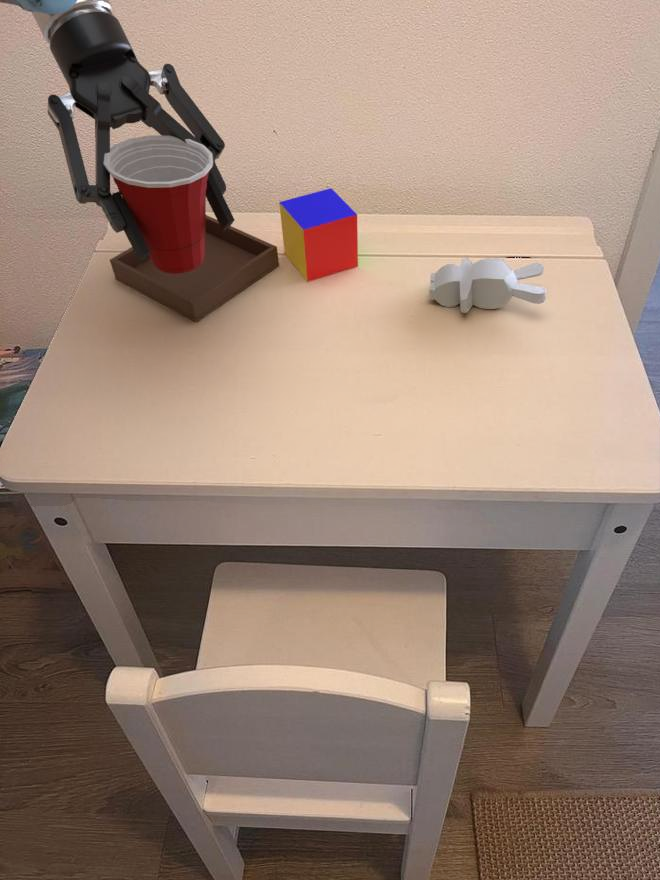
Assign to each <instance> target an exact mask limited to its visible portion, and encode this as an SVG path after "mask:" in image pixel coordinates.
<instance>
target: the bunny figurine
mask: <svg viewBox="0 0 660 880" xmlns="http://www.w3.org/2000/svg"><path fill="white" fill-rule="evenodd" d="M544 269H545V266H543V264H542V263H539V262H535V263H531V264H528V265H525V266H522V267H519V268H517V269H515V270H512V269H511V268H510V266H509V265H508V264H507V262H506V260H505V259H504V258H497V257H490V258H489V257H488V258H484V259H483V258H482V259H479V260H477V261H475V262H474V263H473V262H472V261H471V260H470V258H469V257H465V258H462V259H461V261H460V264H459V265H458V264H455V263H447V264H445V265H443V266H442V267H440V268H439V269H438V270H436V272H430V278H429V279H430V283H429V300H431V301H436V302H437V303H438V304H439V305H441V306H442V307H446V308H454V307H456V306H457V305H459V307H460V308H459V309H460V313H465V314H468V312H469V311H470V310H471V309H472V307H473V306H475V307H477V308H479V309H484V310H495V309H496V310H497V309H501V308H504V307H505V306H506V304H507V303H508V302H509V301H510V300H511V299H512V298H516V299H520V300H523V301H525V302H528V303H531V304H536V305H540V304H543V303H545V301H546V299H547V297H546V296H547V290H546V288H545V287H543V286H539V285H532V284H526V283H520V281H521V280H526V279H530V278H535V277H540V276H542V275H543V274H544Z"/></svg>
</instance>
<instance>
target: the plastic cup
mask: <svg viewBox="0 0 660 880" xmlns="http://www.w3.org/2000/svg"><path fill="white" fill-rule="evenodd" d="M185 141H186V143H187V144H186V143H185V142H184V141H182V140H180V139H179V138H176V137H173V136H170V135H160V134H159V135H157V134H155V135H154V134H152V135H143V136H138V137H132V138H131V137H130V138H127V139H126V140H123V141H120V142H118V143H117V144H114V145H112V146H111V147H110V152H109V153H106V154H105V155H104V163H103V164H104V166H105V168H106V169H107V170H108V172H109V173H110V176H111V177H112V179H113V182H114V183H115V185H116V188H117V189H118V192H120V193H121V195H122V197H123V199H124V201H125V203H126V205H127V207H128V209H129V211H130V213H131V215H132V217H133V219H134V221H135V223H136V225H137V227H138V229H139V230H140V232H141V234H142V236H143V238H144V240H145V242H146V244H147V246H148V248H149V250H150V254H149V256H150V259H151V260H152V262H153V263H154V265H155V266H156V267H157V269H159V270H161V271H163V272H165V273H172V274H177V273H185V272H188V271H191V270H194V269H196V268H197V267H198V266H200V265H201V264H202V262H203V260H204V255H205V236H204V234H205V216H206V215H207V214H206V213H207V212H206V207H207V203H206V200H207V198H206V189H207V180H208V174H209V171H210V169H211V168H212V166H213V155H212V153H211V152H210V151H209V150H208V149H207V148H206V147H205V146H204V145H202V144H200V143H197V142H195V141H193V140H190V139H185Z"/></svg>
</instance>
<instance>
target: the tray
mask: <svg viewBox="0 0 660 880" xmlns="http://www.w3.org/2000/svg"><path fill="white" fill-rule="evenodd" d="M204 236H205V255H204V260H203V262H202V264H201V265H200V266H198V267H197V268H196V269H194V270H191V271H188V272H185V273H177V274H172V273H165V272H163V271H161V270H159V269H157V267H156V266H155V265H154V263H153V262H152V260H151V259H150V256H148V258H147V260H145V261H142V262H140V261H139V259H138V257H137V255H136V253H135V251H134V249H133V247H132V246H131V247H129V248H128V249H126V250H124V251H123V252H120V253H119V254H117V255H115V256H114V257H112V258H111V259H109V263H110V265H111V269H112V272H113V275H114V278H115V280H117V281H119V282H121V283H123V284H124V285H126V286H128V287H129V288H132V289H134V290H136V291H137V292H139V293H141V294H143V295H144V296H147V297H149V298H150V299H152V300H154V301H156V302H157V303H160V304H161V305H163V306H166V308H169V309H170V310H172V311H175V312H176V313H178V314H180V315H181V316H184V317H185V318H188V319H189V320H191V321H193V322H195V323H198V322H199V321H201V320H203V319H204V318H205V317H207V316H208V315H209V314H211V313H213V312H214V311H215V310H217V309H219V308H220V307H222V305H224V304H225V303H227V302H229V301H230V300H232V299H233V298H234V297H236V296H238V295H239V294H240V293H241V292H243V291H245V290H246V289H248V288H249V287H250V286H252V285H254V284H255V283H256V282H258V281H259V280H261V278H263V277H265V276H266V275H268V274H269V273H271V272H272V271H273V270H275V269H276V268H278V267H280V262H279V253H278V246H277V245H274V244H271V243H269V242H267V241H265V240H262V239H261V238H259V237H256V236H254V235H252V234H249V233H247V232H246V231H244V230H243V231H242V230H241V229H239V228H236V227H234V226H232V225H231V226H230V227H229V228H228V229H226V230H222V228H221V226H220V224H219V222H218V220H217V218H214V217H211V216H210V215H208V214H206V216H205V234H204Z"/></svg>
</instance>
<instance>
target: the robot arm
mask: <svg viewBox="0 0 660 880" xmlns="http://www.w3.org/2000/svg"><path fill="white" fill-rule="evenodd" d="M0 3H2V4H8V5H14V6H18V7H20V8H21V10H24V11H26V12H29V13H32V17H33V19H34V20H35V22H36V25H37V27H38V28H39V30H40V32H41V35H42V36H43V38H44V40H45V42H46V43H48V44H49V50H50V52H51V54H52V56H53V58H54V60H55V62H56V64H57V66H58V67H59V70H60V72H61V73H62V75H63V78H64V79H65V81H66V84H67V85H68V87H69V92H68V93H66V94H64V95H61V96H58V95H57V94H50V95H49V96H48V98H47V115H48V116H49V118H50V120H51V121H52V122H53V124H54V126H55V127H56V129H57V130H58V134H59V137H60V141H61V144H62V145H61V146H62V149H63V153H64V157H65V161H66V165H67V168H68V172H69V176H70V180H71V184H72V189H73V191H74V197H75V200H76V201H77V202H78V204H79V203H80V204H81V205H85V204H87V203H95V204H96V205H97V206H98V207H100V208H101V209H102V211H103V213H104V216H105V218H106V219H107V222H108V224H109V225H110V227H111V229H112V230H113V232H115V233H116V234H118V233H121V232H124V234H125V236H126V238H127V240H128V241H129V244H130V245H131V247H133V249H134V251H135V253H136V255H137V257H138V259H139V261H140V262H142V261H145V260H147V258H148V256H149V254H150V250H149V248H148V246H147V244H146V242H145V240H144V238H143V236H142V234H141V232H140V230H139V229H138V227H137V225H136V223H135V221H134V219H133V217H132V215H131V213H130V211H129V209H128V207H127V205H126V203H125V201H124V199H123V197H122V195H121V193H120V192H119V191H116V192H113V193H112V192H111V174H110V173H109V172H108V170H107V169H106V168H105V166H104V164H103V163H104V155H105V154H106V153H109V152H110V148H111V129H112V130H115V129H120V128H121V127H122V126H124V125H126V124H135V123H138V122H141V123H143V124H144V125H145V126H147V127H149V128H152V129H153V130H155V131H156V132H157V133H158V134H159V135H170V136H173V137H176V138H179V139H180V140H182V141H184V142H185V143H186V141H185V139H190V140H193V141H195V142H197V143H200V144H202V145H204V146H205V147H206V148H207V149H208V150H209V151H210V152H211V153H212V155H213V166H212V168H211V169H210V171H209V174H208V180H207V189H206V200H207V202H208V204H209V206H210V208H211V211H212V213H213V214H214V216H215V219H216V220H218V222H219V224H220V226H221V228H222V230H226V229H228V228H229V227H230V226H232V224H233V223H234V222H235V217H234V215H233V213H232V211H231V209H230V207H229V205H228V203H227V201H226V199H225V197H224V194H225V193H226V191H227V184H226V182H225V179H224V178H223V176H222V174H221V172H220V169H219V168H218V166H217V163H216V161H217V160H218V159H219V158H220V157H221V155H222V153H223V151H224V150H225V147H226V144H225V141H224V140H223V138H222V137H221V136H220V134H219V133H218V132H217V131H216V129H215V128H214V127H213V126H212V124H211V123H210V121H209V120H208V119H207V117H206V116H205V115H204V113H203V112H202V111H201V110H200V109H199V107H198V106H197V104H196V103H195V101H194V100H193V99H192V97H190V95H189V93H188V92H187V91H186V90H185V89H184V87H183V85H182V84H181V83H180V80H179V77H178V74H177V71H176V69H175V67H174V66H173V65H172V64H171V63H165V64H164V65H163V66H162V69H157V70H156V69H155V70H149V71H148V70H147V69H146V68H145V67H144V65H142V64H141V63H140V61H139V60H138V58H137V56H136V53H135V51H134V49H133V47H132V45H131V43H130V41H129V38H128V37H127V34H126V33H125V30H124V28H123V26H122V24H121V23H120V21H119V19H118V18H117V17H116V16H115V10H114V8H113V5H112V4H111V2H110V0H0ZM151 86H152V87H154V88H155V89H156V90H157V91H158V93H159V94H160V95H164V96H165V99H166V101H167V102H168V104H169V106H170V107H171V108H172V109H173V111H174V112H175V113H176V114H177V116H178V117H179V118H180V119H181V121H182V122H183V123H184V125H185V126H186V127H187V128H188V129H187V128H185V126H183V125H182V124H181V123H179V122H178V121H177V120H176V119H175V118H174V117H173V116H172V115H170V113H168V112H167V111H166V110H165V109H164V108H163V107H162V104H161V103H160V102H159V101H158V100H157V99H156V98H155V97H154V96H153V95H151V94H150V88H151ZM74 108H77V109H78V110H79V111H81V112H83V113H84V114H86V115H87V116H89V117H90V118H91V119H93V120H94V142H95V145H94V146H95V150H94V151H95V158H94V159H95V161H94V162H95V184H90V183H89V179H88V175H87V171H86V167H85V163H84V159H83V155H82V150H81V147H80V144H79V143H80V142H79V140H78V136H77V132H76V127H75V124H74V121H73V120H74V118H75V110H74ZM186 144H187V143H186Z"/></svg>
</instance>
